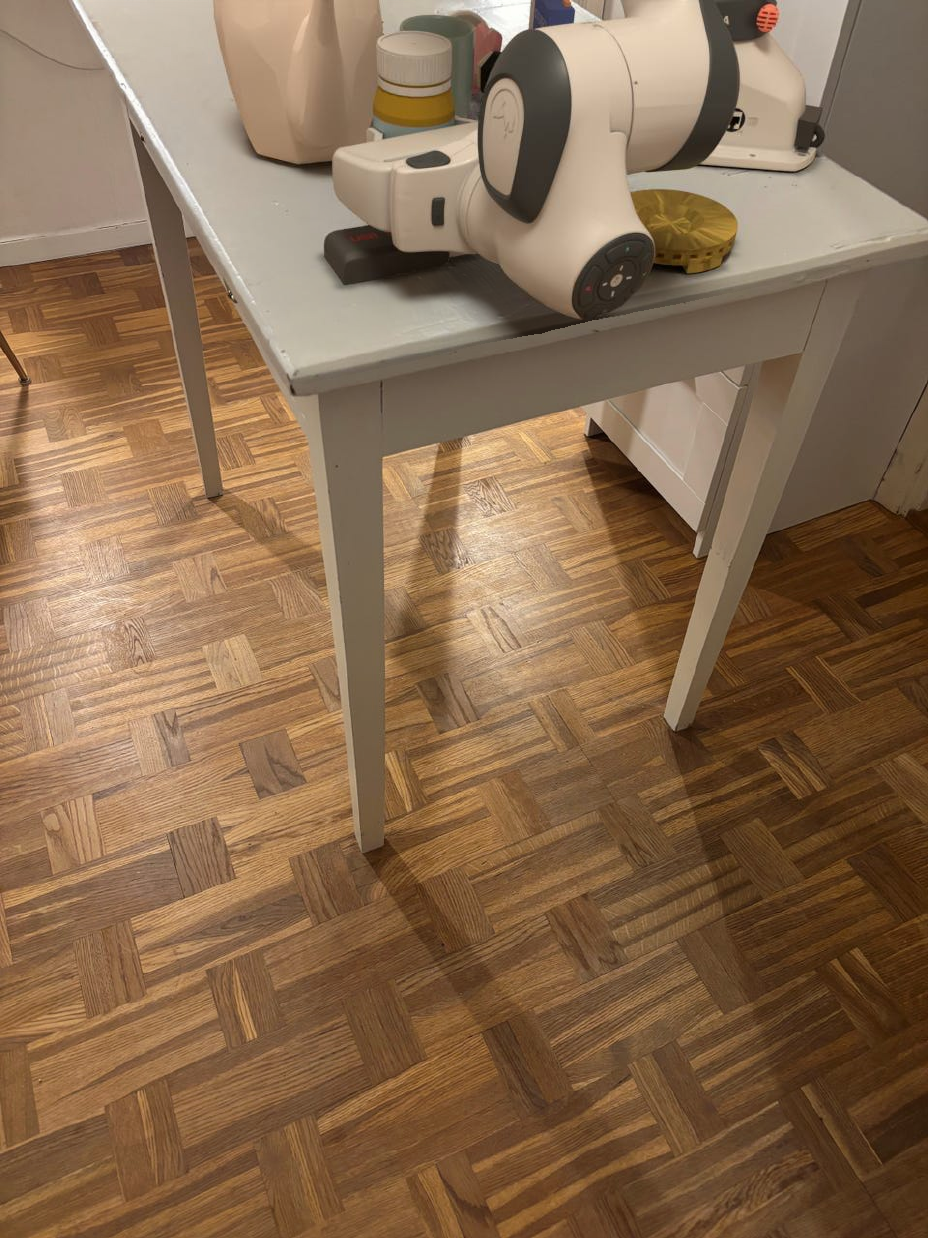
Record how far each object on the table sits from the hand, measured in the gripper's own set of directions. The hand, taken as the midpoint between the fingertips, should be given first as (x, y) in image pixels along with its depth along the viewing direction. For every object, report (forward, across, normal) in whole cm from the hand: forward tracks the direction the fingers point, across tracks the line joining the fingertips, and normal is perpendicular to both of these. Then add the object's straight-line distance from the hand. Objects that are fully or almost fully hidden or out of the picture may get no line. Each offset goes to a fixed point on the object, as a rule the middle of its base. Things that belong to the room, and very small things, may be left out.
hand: (408, 129), depth 83 cm
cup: (+18, -13, +8) cm, 24 cm away
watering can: (+18, +1, +8) cm, 20 cm away
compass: (-15, -19, +8) cm, 25 cm away
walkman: (+15, -26, +8) cm, 31 cm away
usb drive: (-6, +5, +8) cm, 11 cm away
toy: (+31, -24, +4) cm, 40 cm away
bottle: (-1, 0, +8) cm, 8 cm away
